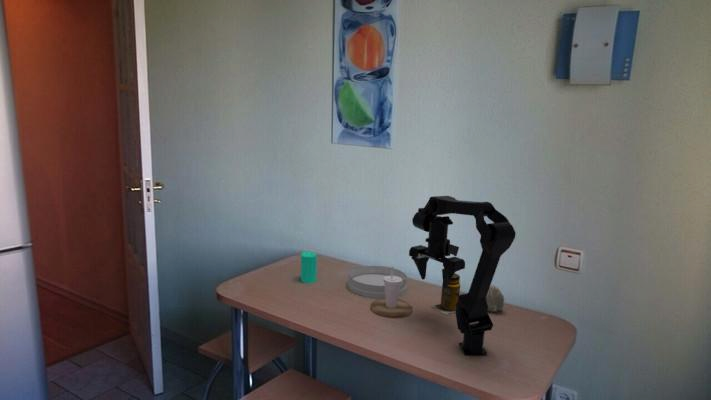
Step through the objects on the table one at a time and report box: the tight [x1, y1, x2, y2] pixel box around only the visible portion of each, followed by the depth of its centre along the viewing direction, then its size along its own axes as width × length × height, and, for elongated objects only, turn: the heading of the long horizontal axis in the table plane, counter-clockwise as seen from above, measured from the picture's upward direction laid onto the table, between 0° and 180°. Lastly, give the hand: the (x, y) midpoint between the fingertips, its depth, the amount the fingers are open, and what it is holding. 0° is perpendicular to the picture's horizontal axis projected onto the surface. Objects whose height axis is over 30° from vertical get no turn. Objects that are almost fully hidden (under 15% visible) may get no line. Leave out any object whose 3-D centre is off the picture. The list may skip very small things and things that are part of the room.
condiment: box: [430, 272, 461, 315], centre depth 170 cm, size 7×8×12 cm
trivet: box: [370, 298, 413, 319], centre depth 168 cm, size 14×14×1 cm
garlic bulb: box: [486, 284, 505, 312], centre depth 171 cm, size 9×8×10 cm
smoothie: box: [383, 265, 402, 308], centre depth 167 cm, size 6×6×14 cm
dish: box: [347, 265, 408, 299], centre depth 188 cm, size 22×22×5 cm
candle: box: [300, 251, 318, 284], centre depth 191 cm, size 6×6×12 cm
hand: (434, 283), depth 157 cm, fingers open, 9 cm apart
